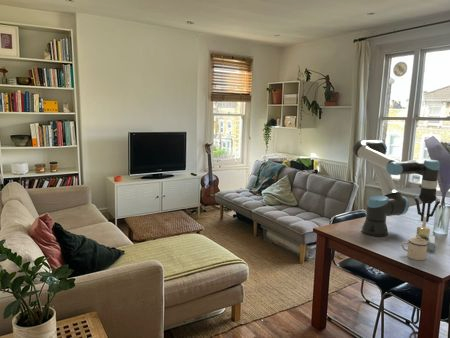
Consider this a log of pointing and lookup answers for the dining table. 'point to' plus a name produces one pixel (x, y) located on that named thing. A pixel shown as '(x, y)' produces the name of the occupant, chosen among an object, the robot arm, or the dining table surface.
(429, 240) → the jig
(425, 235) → the gold cylinder
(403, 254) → the dining table surface
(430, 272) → the dining table surface
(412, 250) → the teacup with lid
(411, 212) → the dining table surface
